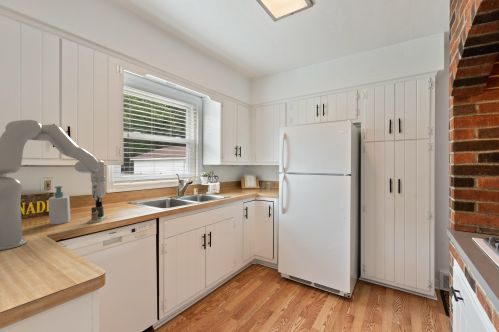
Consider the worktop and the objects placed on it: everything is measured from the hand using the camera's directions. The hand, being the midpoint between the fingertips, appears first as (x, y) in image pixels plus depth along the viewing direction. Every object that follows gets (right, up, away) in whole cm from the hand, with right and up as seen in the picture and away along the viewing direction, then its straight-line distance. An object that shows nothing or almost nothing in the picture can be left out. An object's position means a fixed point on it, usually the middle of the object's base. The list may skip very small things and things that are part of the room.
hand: (99, 208), depth 153 cm
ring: (+1, -5, -2) cm, 6 cm away
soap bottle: (-19, -8, -7) cm, 22 cm away
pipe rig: (+1, -7, -3) cm, 8 cm away
